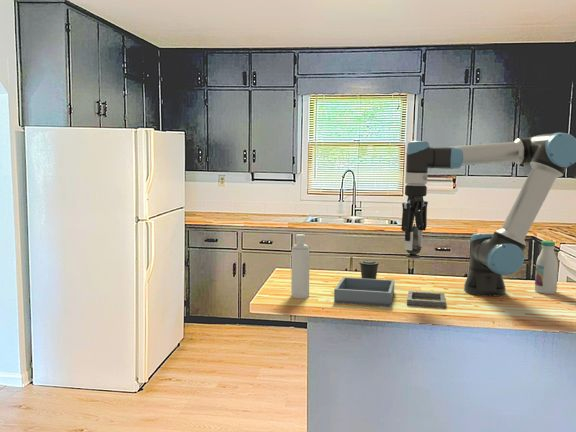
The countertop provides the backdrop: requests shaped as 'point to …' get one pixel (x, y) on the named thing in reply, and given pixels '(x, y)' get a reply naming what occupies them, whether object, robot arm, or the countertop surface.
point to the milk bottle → (546, 269)
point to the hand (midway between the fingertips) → (413, 248)
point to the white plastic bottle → (300, 268)
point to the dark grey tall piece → (414, 244)
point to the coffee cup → (369, 269)
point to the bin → (364, 291)
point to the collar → (426, 302)
